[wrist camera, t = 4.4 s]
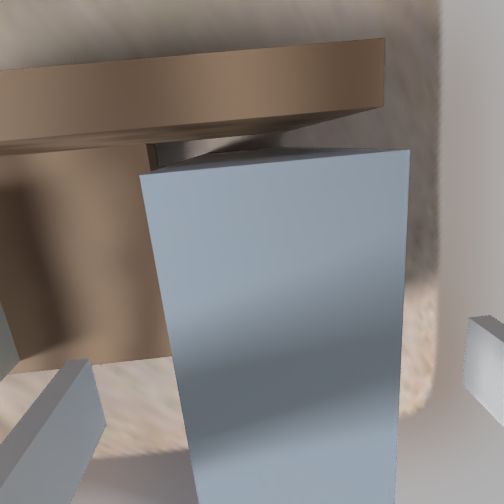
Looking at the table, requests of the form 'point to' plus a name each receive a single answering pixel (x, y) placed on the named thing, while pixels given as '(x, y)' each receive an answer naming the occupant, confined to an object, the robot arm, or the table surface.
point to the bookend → (6, 347)
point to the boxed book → (285, 318)
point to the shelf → (133, 178)
